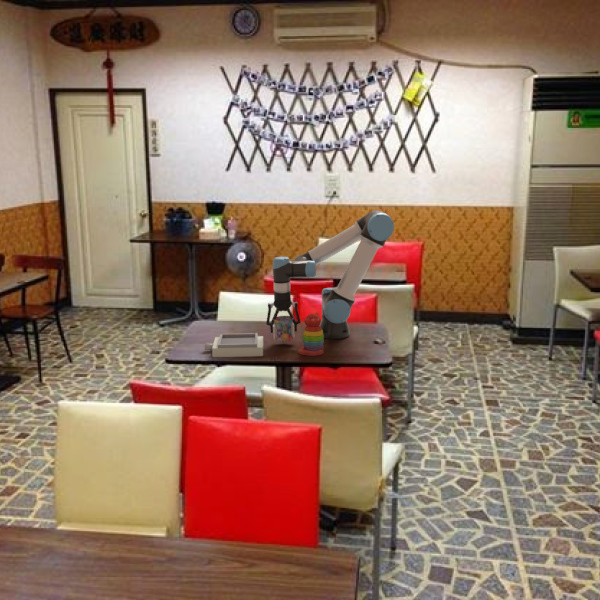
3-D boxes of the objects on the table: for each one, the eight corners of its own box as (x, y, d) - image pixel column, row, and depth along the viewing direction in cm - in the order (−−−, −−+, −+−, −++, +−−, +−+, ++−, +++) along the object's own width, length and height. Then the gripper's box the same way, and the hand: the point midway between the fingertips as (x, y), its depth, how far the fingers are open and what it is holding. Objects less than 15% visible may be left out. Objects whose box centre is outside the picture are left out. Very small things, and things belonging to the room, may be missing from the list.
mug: (290, 344, 302) (290, 321, 300) (271, 343, 305) (270, 320, 302) (298, 336, 313) (297, 314, 311) (279, 335, 316) (278, 313, 313)
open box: (263, 344, 309) (263, 333, 307) (263, 356, 292) (262, 344, 291) (206, 345, 308) (206, 334, 306) (203, 357, 291) (202, 345, 290)
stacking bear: (311, 347, 304) (311, 309, 299) (329, 351, 297) (329, 313, 293) (296, 353, 296) (295, 314, 291) (314, 357, 289) (314, 318, 285)
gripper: (305, 288, 308) (306, 335, 313) (259, 290, 307) (261, 337, 312) (305, 291, 300) (307, 340, 306) (258, 293, 300) (261, 342, 305)
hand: (284, 338), depth 309 cm, fingers closed on mug, 8 cm apart
